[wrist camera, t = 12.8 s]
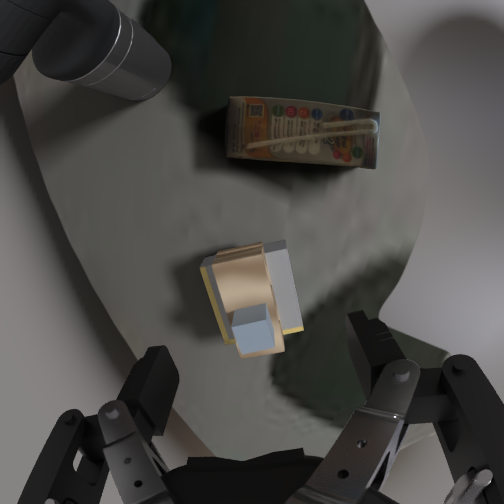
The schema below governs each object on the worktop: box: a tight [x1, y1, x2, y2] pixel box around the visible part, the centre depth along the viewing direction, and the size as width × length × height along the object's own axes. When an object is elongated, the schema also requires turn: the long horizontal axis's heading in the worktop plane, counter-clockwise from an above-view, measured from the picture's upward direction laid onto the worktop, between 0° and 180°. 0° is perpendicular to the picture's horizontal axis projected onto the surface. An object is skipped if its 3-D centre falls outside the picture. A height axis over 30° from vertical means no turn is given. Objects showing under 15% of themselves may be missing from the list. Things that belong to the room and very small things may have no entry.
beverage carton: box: [225, 96, 381, 169], centre depth 36 cm, size 8×19×7 cm, turn 87°
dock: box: [200, 240, 304, 345], centre depth 44 cm, size 13×12×4 cm
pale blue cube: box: [231, 303, 275, 354], centre depth 36 cm, size 4×4×4 cm
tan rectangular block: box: [212, 242, 285, 359], centre depth 40 cm, size 14×6×5 cm, turn 13°
